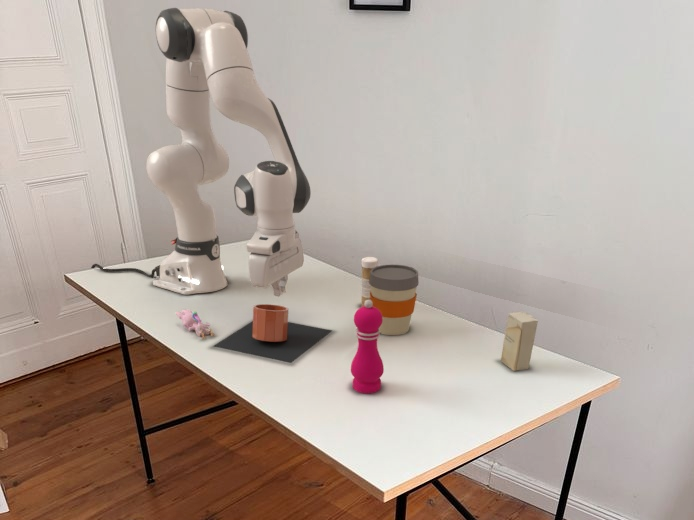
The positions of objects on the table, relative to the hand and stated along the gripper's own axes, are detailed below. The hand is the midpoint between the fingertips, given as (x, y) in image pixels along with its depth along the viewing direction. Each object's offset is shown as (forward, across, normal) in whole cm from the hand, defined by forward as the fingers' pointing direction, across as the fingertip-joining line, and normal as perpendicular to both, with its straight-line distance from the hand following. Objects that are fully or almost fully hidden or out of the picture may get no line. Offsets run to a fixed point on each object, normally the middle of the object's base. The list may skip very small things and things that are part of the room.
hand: (279, 294), depth 170 cm
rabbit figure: (+11, +8, -22) cm, 26 cm away
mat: (+11, +4, 0) cm, 11 cm away
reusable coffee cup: (+11, -16, +24) cm, 31 cm away
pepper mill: (+11, +18, +32) cm, 38 cm away
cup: (+6, +1, 0) cm, 7 cm away
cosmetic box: (+11, -8, +59) cm, 60 cm away
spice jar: (+11, -28, +12) cm, 32 cm away
